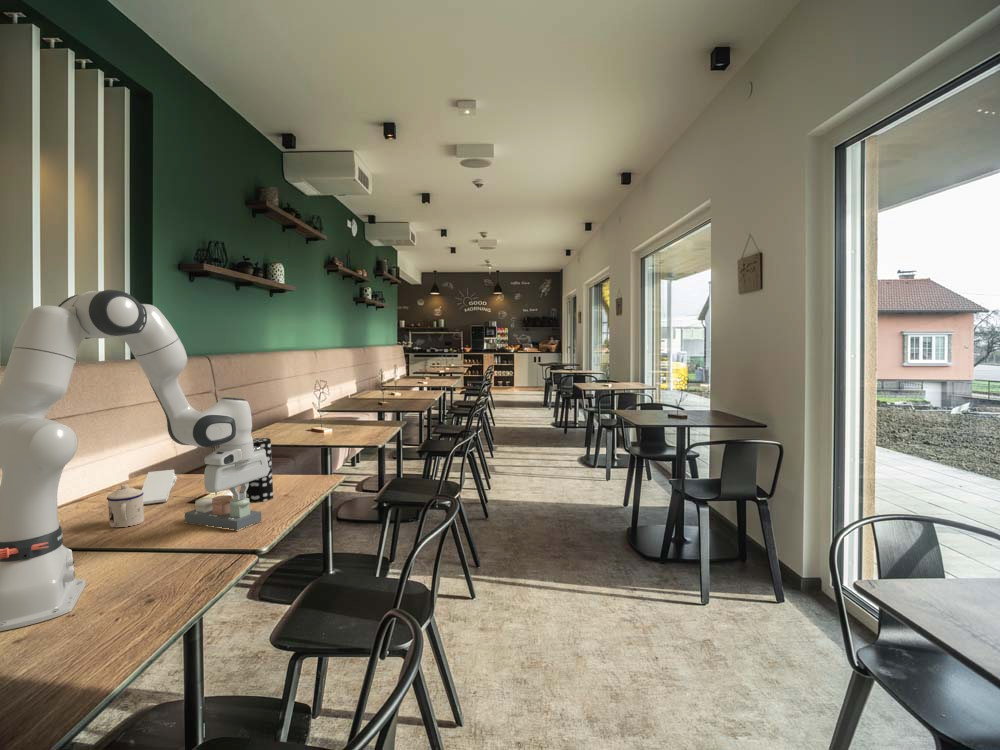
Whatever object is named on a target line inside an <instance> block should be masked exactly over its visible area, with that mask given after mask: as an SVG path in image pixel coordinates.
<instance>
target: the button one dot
mask: <svg viewBox="0 0 1000 750" xmlns="http://www.w3.org/2000/svg"><path fill="white" fill-rule="evenodd" d="M212 498H213V497H202V498H199V499H196V500H195V505H194V506H195V509H196V511H197V512H203V513H205V512H208V511H211V510H212Z"/></svg>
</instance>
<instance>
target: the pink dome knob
mask: <svg viewBox="0 0 1000 750" xmlns="http://www.w3.org/2000/svg"><path fill="white" fill-rule="evenodd" d="M232 497H233V496H232V495H231V494H230V495H228V494H226V495H225V494H224V495H218V496H214V497H211V498H212V510H213V514H216V515H225V514H227V513H230V501H231V500H233V498H232Z"/></svg>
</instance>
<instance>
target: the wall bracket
mask: <svg viewBox="0 0 1000 750" xmlns="http://www.w3.org/2000/svg"><path fill="white" fill-rule="evenodd" d="M177 480H178V476H176V474H175V469H166V470H156V471H148V472H147V475H146V477H145V479H144V482H143V485H142V487H141V490H142V491H143V505H149V504H156V503H157V504H158V503H164V502H167V501H168V499H169V496H170V493H171V490H172V489H173V487H174V486H175V483H177Z"/></svg>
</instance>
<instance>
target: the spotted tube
mask: <svg viewBox="0 0 1000 750" xmlns="http://www.w3.org/2000/svg"><path fill="white" fill-rule="evenodd" d="M253 447H254V448H257V447H262V448H264V449H265V451H266V457H267V461H268V466H269V473H268V475H267V476H265V477H262V478H259V479H256V480H253V481H250V482H249V486H248V489H247V491H246V498H249V502H250V503H261V502H262V503H264V502H266V501H270V500H272V499H274V487H273V486H274V484H273V463H272V459H273V458H272V441H271V438H269V437H258V438H253ZM261 450H262V449H261Z"/></svg>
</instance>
